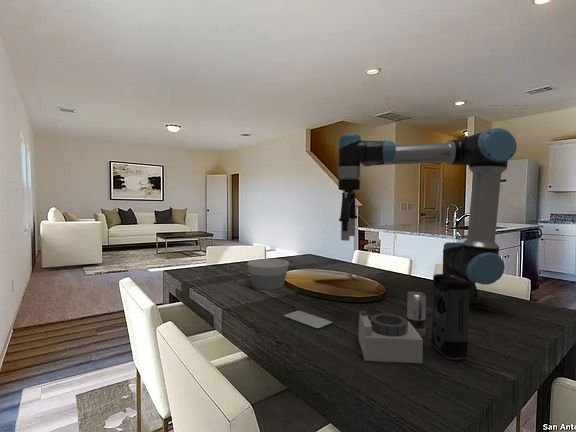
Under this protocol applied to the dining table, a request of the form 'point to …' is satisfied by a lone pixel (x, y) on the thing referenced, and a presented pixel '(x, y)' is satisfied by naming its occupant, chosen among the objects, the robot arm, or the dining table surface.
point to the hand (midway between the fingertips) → (348, 238)
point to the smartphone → (308, 320)
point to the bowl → (268, 273)
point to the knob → (417, 311)
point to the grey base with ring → (389, 339)
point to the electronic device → (450, 316)
